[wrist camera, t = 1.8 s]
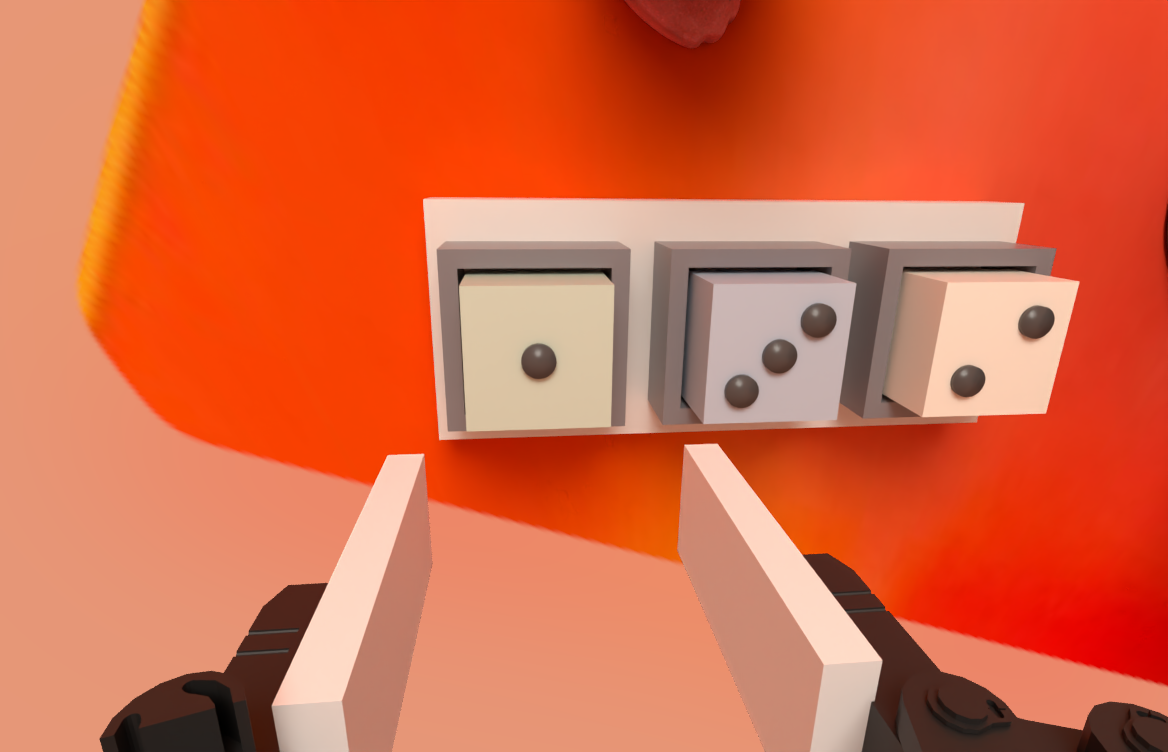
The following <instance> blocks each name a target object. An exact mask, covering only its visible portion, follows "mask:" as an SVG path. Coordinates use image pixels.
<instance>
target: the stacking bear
mask: <svg viewBox="0 0 1168 752" xmlns="http://www.w3.org/2000/svg"><path fill="white" fill-rule="evenodd" d="M624 1H625V2H626V3H627V5H628V6H629V7H630V8H631V9H632V10H633V11H634V12H635V13H636V14H637V15H638V16H639V17H640V18H641V19H642V20H643V21H645V22H646V23H647V24H648V25H649V26H651V27H652V28H653V29H654V30H656V31H657V32H659V33H660V34H661V35H663V36H664V37H666V38H668V39H669V40H671V41H673V42H675V43H677V44H679V45H681V46H684V47H687V48H696V47H698V46H699V45H700V44H701V43H703V42H705V43H714V42H716V41H718V40H719V39H720V38H721V37H722V35H723V34H724V32H725V30H726V28H727V25H728V24H730V23H731V22H732V21H733V20H734V19H735V17H736V15H737V13H738V11H739V7H740V2H741V0H624Z"/></svg>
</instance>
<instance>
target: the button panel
mask: <svg viewBox="0 0 1168 752" xmlns="http://www.w3.org/2000/svg"><path fill="white" fill-rule="evenodd" d="M423 204H424V219H425V234H426V249H427V264H428V279H429V294H430V309H431V324H432V339H433V354H434V369H435V383H436V398H437V413H438V428H439V440H451V439H481V438H512V437H542V436H573V435H604V434H634V433H665V432H695V431H726V430H756V429H787V428H817V427H848V426H878V425H909V424H940V423H970V422H977V418H978V416H946V417H921V416H919V415H918V414H916V413H914V412H912V411H911V410H909V409H907V408H906V407H904V406H902V405H901V404H899V403H897V402H895V401H894V400H892V399H890V398H889V397H887V396H885V395H883V394H882V392H883V386H884V380H885V374H886V368H887V362H888V356H889V350H890V344H891V338H892V332H893V326H894V320H895V314H896V308H897V302H898V296H899V290H900V284H901V278H902V272H903V269H1013V270H1018V271H1024V272H1029V273H1035V274H1040V275H1046V276H1050V274H1051V270H1052V266H1053V261H1054V257H1055V253H1056V248H1048V247H1041V246H1033V245H1025V244H1017V243H1016V240H1017V236H1018V231H1019V227H1020V222H1021V217H1022V213H1023V208H1024V204H1025V203H1008V202H987V201H874V200H736V199H597V198H459V197H431V198H426V199H423ZM689 270H815V271H818V272H821V273H825V274H828V275H831V276H834V277H838V278H841V279H844V280H847V281H851V282H854V283H856V290H855V297H854V304H853V311H852V318H851V325H850V332H849V339H848V346H847V352H846V359H845V366H844V373H843V380H842V387H841V394H840V401H839V408H838V415H837V420H820V421H788V422H756V423H724V424H703V423H702V422H701V420H700V419H699V418H698V417H697V415H696V414H695V413H694V411H693V410H692V409H691V407H690V406H689V405H688V403H687V402H686V401H685V400H684V398H683V397H682V396H681V386H682V370H683V354H684V337H685V321H686V305H687V288H688V272H689ZM467 271H602V272H603V273H604V274H605V275H606V277H607V278H608V279H609V280H610V281H611V282H612V283H613V284H614V323H613V363H612V403H611V427H597V428H566V429H534V430H502V431H471V432H467V430H466V411H465V392H464V373H463V354H462V334H461V315H460V296H459V285H460V283H461V282H462V280H463V278H464V276H465V274H466V272H467Z"/></svg>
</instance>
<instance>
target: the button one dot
mask: <svg viewBox="0 0 1168 752" xmlns="http://www.w3.org/2000/svg"><path fill="white" fill-rule="evenodd" d="M459 296H460V315H461V334H462V354H463V373H464V392H465V411H466V430H467V432H471V431H502V430H534V429H566V428H597V427H611V403H612V363H613V323H614V284H613V283H612V282H611V281H610V280H609V279H608V278H607V277H606V275H605V274H604V273H603V272H602V271H467V272H466V274H465V276H464V278H463V280H462V282H461V283H460V285H459Z"/></svg>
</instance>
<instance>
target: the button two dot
mask: <svg viewBox="0 0 1168 752" xmlns="http://www.w3.org/2000/svg"><path fill="white" fill-rule="evenodd" d="M1078 286H1079V281H1073V280H1068V279H1062V278H1057V277H1051V276H1046V275H1040V274H1035V273H1029V272H1024V271H1018V270H1013V269H903V272H902V278H901V284H900V290H899V296H898V302H897V308H896V314H895V320H894V326H893V332H892V338H891V344H890V350H889V356H888V362H887V368H886V374H885V380H884V386H883V392H882V394H883V395H885V396H887V397H889V398H890V399H892V400H894V401H895V402H897V403H899V404H901V405H902V406H904V407H906V408H907V409H909V410H911V411H912V412H914V413H916V414H918V415H919V416H921V417H946V416H978V415H1010V414H1042V413H1046V411H1047V407H1048V403H1049V399H1050V395H1051V391H1052V387H1053V384H1054V380H1055V376H1056V372H1057V368H1058V364H1059V360H1060V356H1061V352H1062V348H1063V344H1064V340H1065V336H1066V333H1067V329H1068V325H1069V321H1070V317H1071V313H1072V309H1073V305H1074V301H1075V297H1076V293H1077V289H1078Z"/></svg>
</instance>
